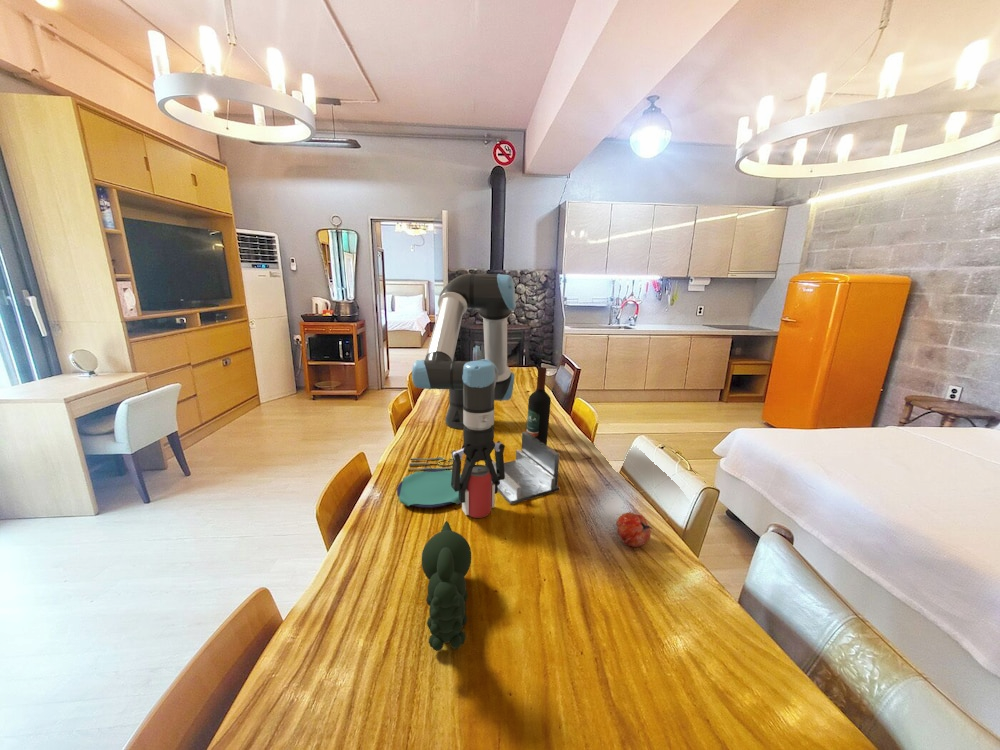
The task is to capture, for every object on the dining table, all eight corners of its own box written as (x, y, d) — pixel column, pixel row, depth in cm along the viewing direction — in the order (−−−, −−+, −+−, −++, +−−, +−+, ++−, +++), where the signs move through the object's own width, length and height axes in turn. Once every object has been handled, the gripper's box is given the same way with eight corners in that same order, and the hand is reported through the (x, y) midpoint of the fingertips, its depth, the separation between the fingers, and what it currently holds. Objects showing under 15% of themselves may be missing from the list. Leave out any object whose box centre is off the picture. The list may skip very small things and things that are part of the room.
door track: (479, 471, 116) (479, 438, 114) (523, 461, 123) (524, 430, 121) (510, 504, 99) (511, 467, 96) (559, 490, 106) (561, 455, 104)
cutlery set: (392, 515, 94) (391, 507, 93) (404, 462, 123) (404, 455, 122) (470, 510, 97) (470, 502, 96) (464, 459, 126) (464, 453, 125)
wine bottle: (547, 455, 128) (555, 371, 120) (525, 454, 128) (532, 370, 120) (544, 446, 135) (551, 366, 128) (524, 445, 135) (530, 365, 128)
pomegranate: (609, 550, 86) (639, 549, 78) (601, 516, 89) (629, 512, 81) (634, 544, 89) (665, 543, 81) (625, 512, 92) (654, 508, 84)
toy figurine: (478, 674, 58) (468, 550, 81) (479, 582, 52) (469, 477, 75) (416, 682, 56) (425, 554, 80) (410, 588, 50) (421, 479, 74)
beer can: (487, 521, 92) (488, 477, 89) (462, 517, 93) (462, 474, 90) (493, 506, 98) (494, 465, 95) (469, 502, 100) (469, 462, 97)
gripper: (445, 437, 82) (447, 527, 88) (521, 423, 91) (518, 506, 97) (435, 426, 89) (437, 510, 94) (506, 414, 98) (504, 492, 103)
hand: (478, 508), depth 96 cm, fingers closed on beer can, 7 cm apart
